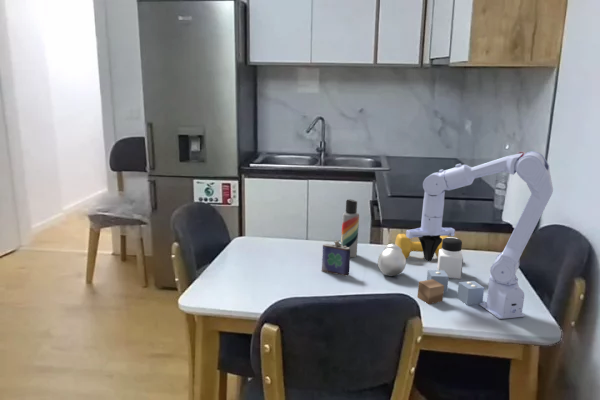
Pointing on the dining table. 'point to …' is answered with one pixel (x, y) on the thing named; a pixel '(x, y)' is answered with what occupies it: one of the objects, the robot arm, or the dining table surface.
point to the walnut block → (430, 291)
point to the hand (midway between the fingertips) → (427, 260)
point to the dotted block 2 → (470, 292)
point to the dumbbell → (412, 245)
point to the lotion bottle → (350, 227)
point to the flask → (336, 258)
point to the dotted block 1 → (438, 277)
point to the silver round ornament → (392, 260)
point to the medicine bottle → (451, 257)
